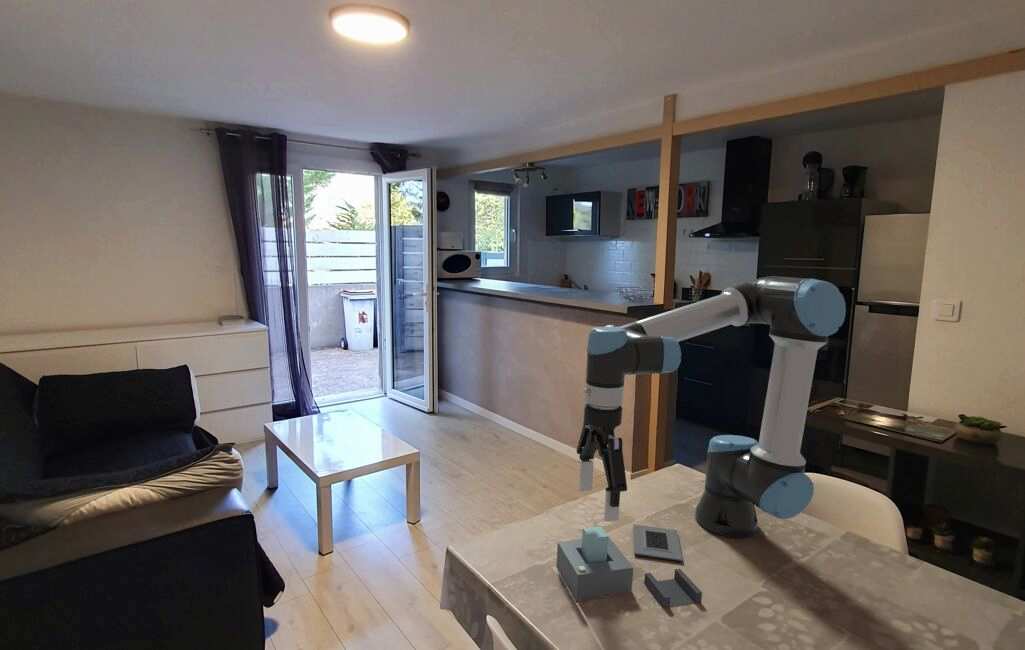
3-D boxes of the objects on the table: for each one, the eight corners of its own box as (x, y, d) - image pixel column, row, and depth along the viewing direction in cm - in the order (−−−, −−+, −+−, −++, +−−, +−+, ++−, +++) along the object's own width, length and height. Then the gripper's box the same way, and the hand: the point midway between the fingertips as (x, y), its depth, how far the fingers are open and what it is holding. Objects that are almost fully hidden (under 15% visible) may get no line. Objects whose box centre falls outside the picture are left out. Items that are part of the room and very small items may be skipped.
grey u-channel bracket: (679, 581, 114) (680, 568, 114) (701, 606, 107) (702, 592, 106) (643, 586, 112) (644, 573, 112) (663, 611, 104) (664, 597, 104)
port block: (606, 561, 121) (608, 534, 120) (631, 594, 109) (633, 565, 108) (556, 567, 118) (557, 540, 117) (576, 602, 106) (577, 572, 105)
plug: (597, 569, 116) (600, 526, 114) (605, 580, 112) (608, 536, 110) (579, 571, 115) (582, 528, 113) (587, 583, 111) (590, 538, 109)
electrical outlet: (681, 568, 120) (682, 558, 119) (633, 561, 122) (634, 551, 122) (676, 537, 133) (677, 528, 132) (632, 532, 135) (633, 523, 134)
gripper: (564, 388, 119) (560, 479, 122) (612, 425, 95) (605, 537, 98) (596, 387, 121) (591, 477, 124) (650, 423, 97) (642, 533, 100)
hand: (597, 504), depth 111 cm, fingers open, 12 cm apart
